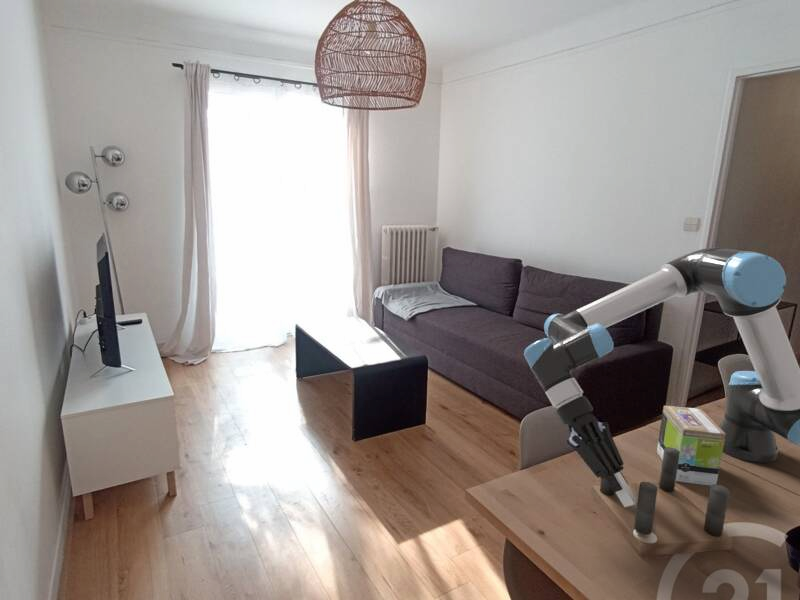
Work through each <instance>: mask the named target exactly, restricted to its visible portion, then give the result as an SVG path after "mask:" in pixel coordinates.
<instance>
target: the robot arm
mask: <svg viewBox="0 0 800 600" xmlns="http://www.w3.org/2000/svg"><path fill="white" fill-rule="evenodd" d="M786 283H787V277H786V272H785V270H784V267H782V265H781V264H780V263H779V262H778V261H777V260H776V259H775V258H773V257H771V256H768V255H766V254H763V253H759V252H757V251H749V250H748V251H747V250H745V251H743V250H736V249H729V248H725V247H718V246H717V247H715V246H714V247H706V248H702V249H698V250H694V251H692V252H690V253H687V254H685V255H682V256H680V257H677V258H675V259H673V260H671V261H669V262H667V263H665V264H662V265H661V266H660V270H659V271H656V272H654V273H651V274H650V275H647V276H646V277H644V278H641V279H639V280H638V281H635V282H633V283H630V284H629V285H626V286H625V287H622V288H620V289H617V290H616V291H614V292H612V293H609V294H607V295H606V296H603V297H601V298H599V299H597V300H595V301H592V302H590V303H588V304H585V305H584V306H581V307H579V308H577V309H575V310H573V311H571V312H569V313H567V314H563V313H553V314H552V315H550V316H548V317H547V319H546V320H545V322H544V325H543V330H544V333H545V335H546V336H547V337H545V338H541V339H539V340H536V341H534V342H533V343H531V344H530V345H528V346H527V347H526V348H525V349H524V353H523V356H524V358H525V360H526V362H527V365H529V367H530V370H531V372H532V373H533V375H534V377H535V378H536V380H537V382H538V383H539V385H540V387H541V388H542V389H543V392H544V393H545V395H546V396H547V398H548V399H549V402H550V403H551V405H552V407H553V408H556V409H555V410H556V415H558V418H559V420H560V421H561V423H562V424H563V425H567V427H568V431H569V432H570V433H569V434H570V436H569V438H566V443H567V444H568V445H569V446H570V447H571V448H572V449H574V450H575V452H576V453H577V454H578V455H579V457H580V458H581V459H582V460H583V461H584V463H585V464H586V466H587V467H588V468H589V469H590V471H592V473H593V474H594V475H595V476H596V478H600V480H601V479H603V478H606V479H607V481H608V483H609V484H610V486H611V487H612V489H613V491H614V492H616V494H617V496H618V497H619V499H620V501H621V502H622V504H623V506H624V507H628V506H631V505H634V504H636V503H637V499H636V498H635V496H634V494H633V493H632V491H631V489H630V488H629V486H628V484H629V483H628V481H627V480H626V478H625V476H624V475H623V473H622V471H623V470H624V466H623V465H624V464H625V463H624V460H623V459H622V456H621V454H620V452H619V450H618V447H617V445H616V443H615V440H614V438H613V436H612V433H611V432H610V431H611V430H610V427H609V423H608V422H607V421H604V422H600V421H598V419H597V417H595V416H594V414H593V413H592V412H593V411H594V408H593V406H592V405H591V403H590V401H589V400H588V398H587V396H585V395H583V394H584V390H583V389H582V388H581V385H579V383H578V381H577V380H576V378H575V377H574V375H573V374H572V372H573V371H575V370H577V369H579V368H581V367H583V366H585V365H587V364H590V363H592V362H594V361H596V360H598V359H601V358H602V357H604V356H606V355H607V354H609V353H611V352H612V351H613V349H614V341H613V338H612V337H611V335H610V332H609V331H608V330H607V328H608V327H611V326H613V325H616V324H618V323H619V322H622V321H623V320H626V319H628V318H630V317H632V316H635V315H637V314H639V313H642V312H644V311H646V310H647V309H650V308H653V307H654V306H656V305H659V304H661V303H664V302H666V301H667V300H670V299H672V298H674V297H678V298H683V297H686V296H687V295H690V294H695V293H696V294H697V293H704V294H708V295H711V296H715V297H716V299H717V301H718V303H719V306H720V308H721V311H722V312H723V314H724V315H726V316H729V317H732V318H733V321H734V322H735V326H736V328H737V330H738V332H739V334H740V337H741V339H742V342H743V345H744V347H745V349H746V352H747V354H748V357H749V359H750V361H751V364H752V366H753V368H754V370H740V371H739V370H738V371H734V372H733V373H732V374H731V376H730V379H729V383H728V388H727V393H726V394H727V395H726V402H725V408H724V414H723V415H724V416H723V418H722V421H721V422H720V424H719V425H718V426H719V427H720V429H721V430H722V431H723V432H724V433H725V441H724V446H723V451H722V453H725V454H727V455H729V456H731V457H734V458H737V459H740V460H744V461H747V462H752V463H753V462H754V463H773V462H774V461H776V460H777V457H778V454H779V448H778V446H777V439H776V436H775V434H777V435H779V437H781V438H783V439H785V440H787V441H788V442H789V443H790V444H793V445H796V446H798V447H800V366H799V363H798V360H797V358H796V355H795V353H794V350H793V348H792V345H791V342H790V340H789V337H788V335H787V332H786V330H785V327H784V325H783V322H782V319H781V317H780V314H779V312H778V309H777V307H778V305H779V303H780V302H781V299H782V298H781V297H782V295H783V294H784V291H785V289H784V286H786Z"/></svg>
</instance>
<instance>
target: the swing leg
mask: <svg viewBox="0 0 800 600" xmlns="http://www.w3.org/2000/svg"><path fill="white" fill-rule="evenodd" d="M652 483H653V482H649V481H641V482H640V486H639V494H638V499H637V509H636V517H635V525H634V528H635V530H636V533H639V534H643V535H646V536H649V535H650V534H651V532H652V525H653V518H654V511H655V503H656V496H657V489H658V488H657V486H655V485H654V484H652Z"/></svg>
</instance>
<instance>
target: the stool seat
mask: <svg viewBox="0 0 800 600" xmlns="http://www.w3.org/2000/svg"><path fill="white" fill-rule="evenodd" d="M679 454H680V452H679V451H678V450H677V449H675V448H671V447H666V448H664V454H663V460H662V461H661V462H662V463H661V467H660V468H661V470H660V476H659V482H658V481H657V482H651V483H652V484H654V485H655V486H657V488H658V489H657V496H656V503H655V511H654V518H653V525H652V532H651V534H650V535H649V536H646V535H643V534H639V533H636V530H635V528H634V525H635V517H636V509H637V503H636V504H634V505H631V506H628V507H624V506H623V504H622V502H621V501H620V499H619V497H618V496H617V494H616V492H614V491H613V489H612V487H611V486H610V484H609V483H608V481H607V479H606V478H603V479H601V478H600V484H599V485H592V486H591V492H590V496H591V497H592V499H593V500H594V501H595V502H596V504H597V505H598V506H599V507H600V508H601V510H602V511H603V512H604V513H605V515H606V516H607V517H608V519H609V520H610V521H611V522H612V524H614V526H615V528H617V530H618V531H619V532H620V534H621V535H622V536H623V538H624V539H625V540H626V541H627V542H628V544H629V545H630V546H631V547H632V549H633V550H634V551H635V552H636V554H637V555H638V556H639V557H643V556H657V555H658V556H659V555H672V554H674V555H675V554H687V553H689V554H690V553H703V552H714V551H715V552H716V551H717V552H718V551H731V550H732V548H733V542H734V539H733V538H732V536H730V535H729V534H728V533H727V532H726V531H725V530H724V526H725V525H724V524H725V520H726V519H725V518H726V514H727V508H728V502H729V496H730V490H729V489H728V488H727V487H725V486H724V485H721V484H713V485H711V486H710V487H709V488H710V489H709V494H708V500H707V506H706V507H707V508H706V513H705V512H704V511H703V510H701V508H699V507H698V506H697V505H696V504H695V503H694V502H693V501H691V500H690V498H688V497H687V495H685V494H683V492H681V491H680V490H679V489H678V488H677V487H676V482H677V481H676V474H677V468H678V461H679ZM640 483H641V482H640ZM640 483H628V486H629V488H630V489H631V491H632V493H633V494H634V496H635V498H636V499H638V494H639V486H640Z"/></svg>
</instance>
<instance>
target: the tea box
mask: <svg viewBox="0 0 800 600" xmlns="http://www.w3.org/2000/svg"><path fill="white" fill-rule="evenodd" d="M661 414H662V415H661V422H660V429H659V435H658V442H657V449H656V453H657V454H658V456H659V457H660V458H661V460H662V461H663V454H664V448H666V447H671V448H675V449H677V450H678V451H679V452H680V454H679V461H678V468H677V474H676V481H675V482H680V483H685V484H687V483H688V484H693V485H703V486H710V487H711V485H713V484H717V483H718V478H719V473H720V472H719V471H720V467H721V461H722V457H723V446H724V441H725V433H724V432H723V431H722V430H721V429H720V427H719V425H718V424H717V423H715V422H714V421H713V419H712V418H711V417H710V416H708V414H707V413H706V412H705V411H704V410H703V409H702V408H694V407H684V406H683V407H682V406H674V405H673V406H672V405H663V409H662V413H661ZM717 485H718V484H717Z"/></svg>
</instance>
